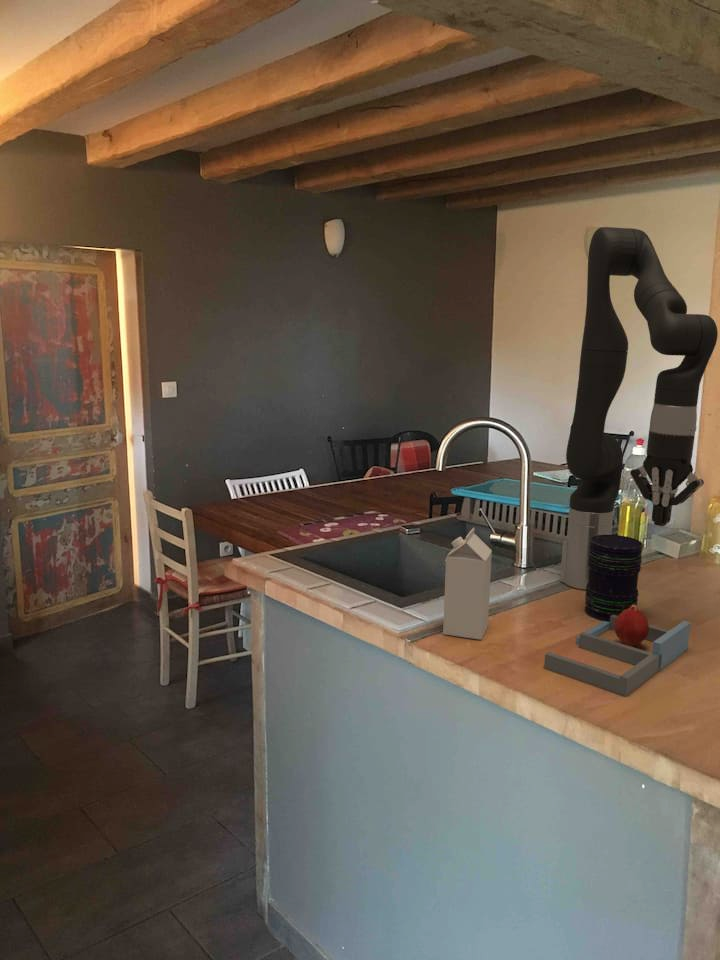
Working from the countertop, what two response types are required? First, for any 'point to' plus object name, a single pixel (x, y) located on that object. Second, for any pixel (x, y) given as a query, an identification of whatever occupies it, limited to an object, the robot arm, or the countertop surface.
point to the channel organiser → (622, 657)
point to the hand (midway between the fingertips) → (660, 524)
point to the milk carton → (467, 588)
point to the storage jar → (612, 575)
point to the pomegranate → (631, 626)
